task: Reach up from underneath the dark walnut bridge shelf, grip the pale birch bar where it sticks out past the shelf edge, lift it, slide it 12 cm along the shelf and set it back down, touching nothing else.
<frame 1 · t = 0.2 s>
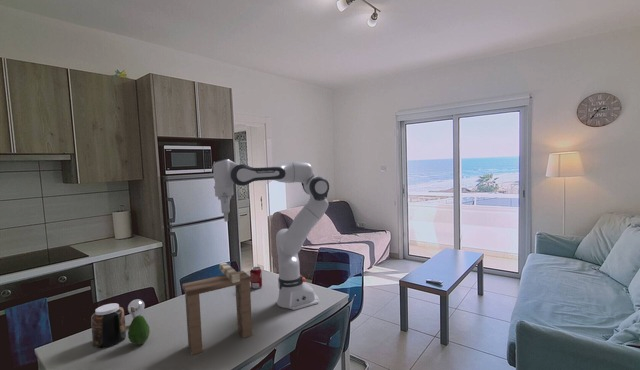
hand: (226, 219, 156), 48 cm above the table, tool pointing down, fingers open, 8 cm apart
walnut shelf: (220, 339, 135), on the table
soda can: (256, 287, 191), on the table
light bulb: (137, 324, 151), on the table
birch bar: (229, 275, 139), point 26 cm above the table, touching walnut shelf
avocado: (139, 343, 134), on the table
jar: (110, 341, 137), on the table
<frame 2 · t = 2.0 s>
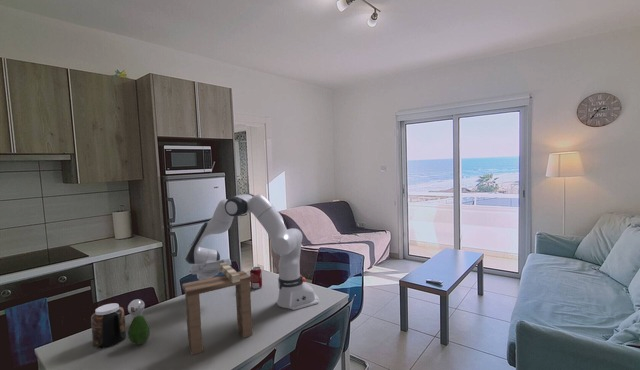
hand: (214, 262, 161), 25 cm above the table, tool pointing upward, fingers open, 8 cm apart
nothing on the table moved.
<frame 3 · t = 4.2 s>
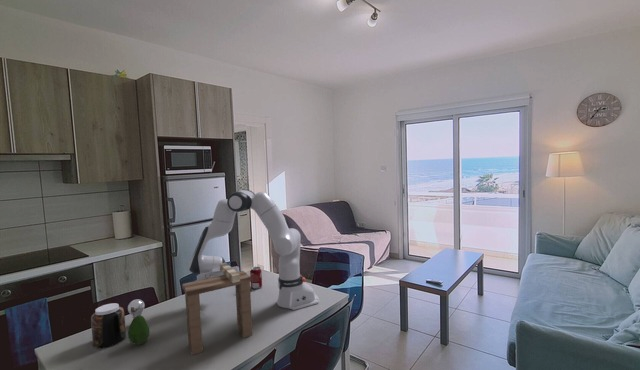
hand: (221, 271, 151), 24 cm above the table, tool pointing upward, fingers open, 8 cm apart
nothing on the table moved.
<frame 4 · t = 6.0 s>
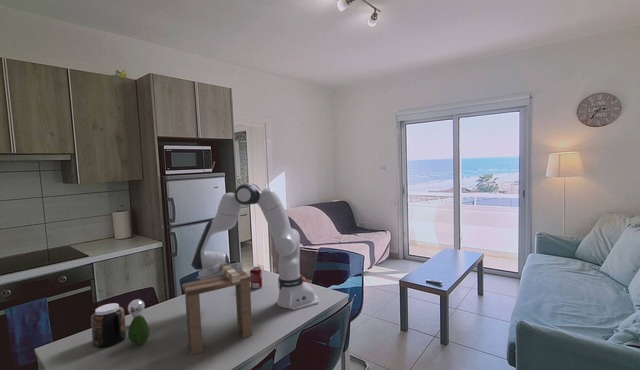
hand: (224, 266, 145), 28 cm above the table, tool pointing upward, fingers closed on birch bar, 3 cm apart
birch bar: (229, 275, 139), point 26 cm above the table, touching gripper, walnut shelf
everything else where it was.
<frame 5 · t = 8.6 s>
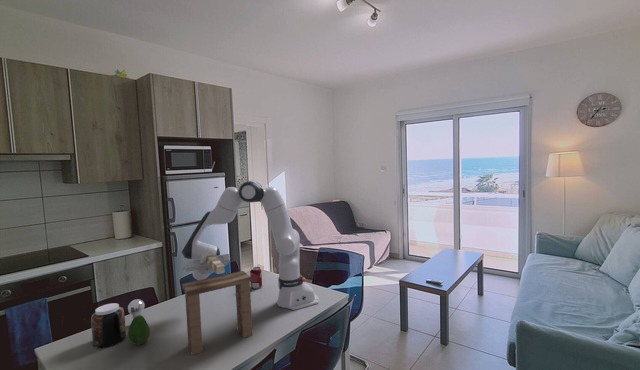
hand: (210, 257, 142), 33 cm above the table, tool pointing upward, fingers closed on birch bar, 3 cm apart
birch bar: (214, 266, 136), point 31 cm above the table, touching gripper
everything else where it was.
when the fingers open (29 cm above the table, at t = 10.9 s): birch bar stays where it is, resting on walnut shelf.
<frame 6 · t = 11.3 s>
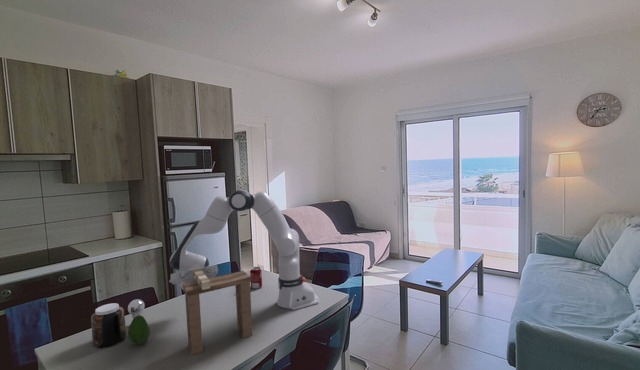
hand: (197, 270, 139), 29 cm above the table, tool pointing upward, fingers open, 8 cm apart
birch bar: (201, 281, 133), point 26 cm above the table, touching walnut shelf
everything else where it was.
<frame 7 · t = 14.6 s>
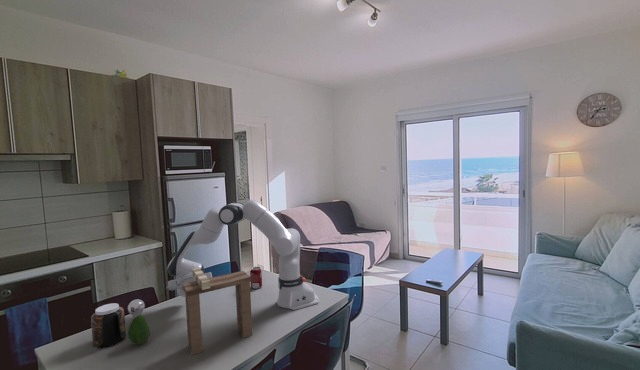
hand: (192, 277, 149), 22 cm above the table, tool pointing upward, fingers open, 8 cm apart
nothing on the table moved.
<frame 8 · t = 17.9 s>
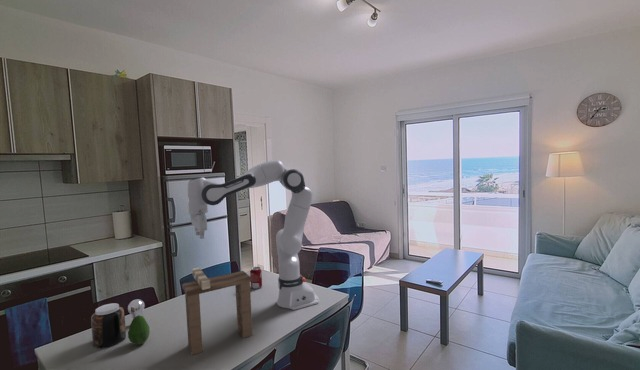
hand: (199, 236, 159), 39 cm above the table, tool pointing down, fingers open, 8 cm apart
nothing on the table moved.
at the end: birch bar 0.1 cm from the target spot, point 26.0 cm above the table; birch bar moved 12.0 cm from its start; the gripper is holding nothing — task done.
